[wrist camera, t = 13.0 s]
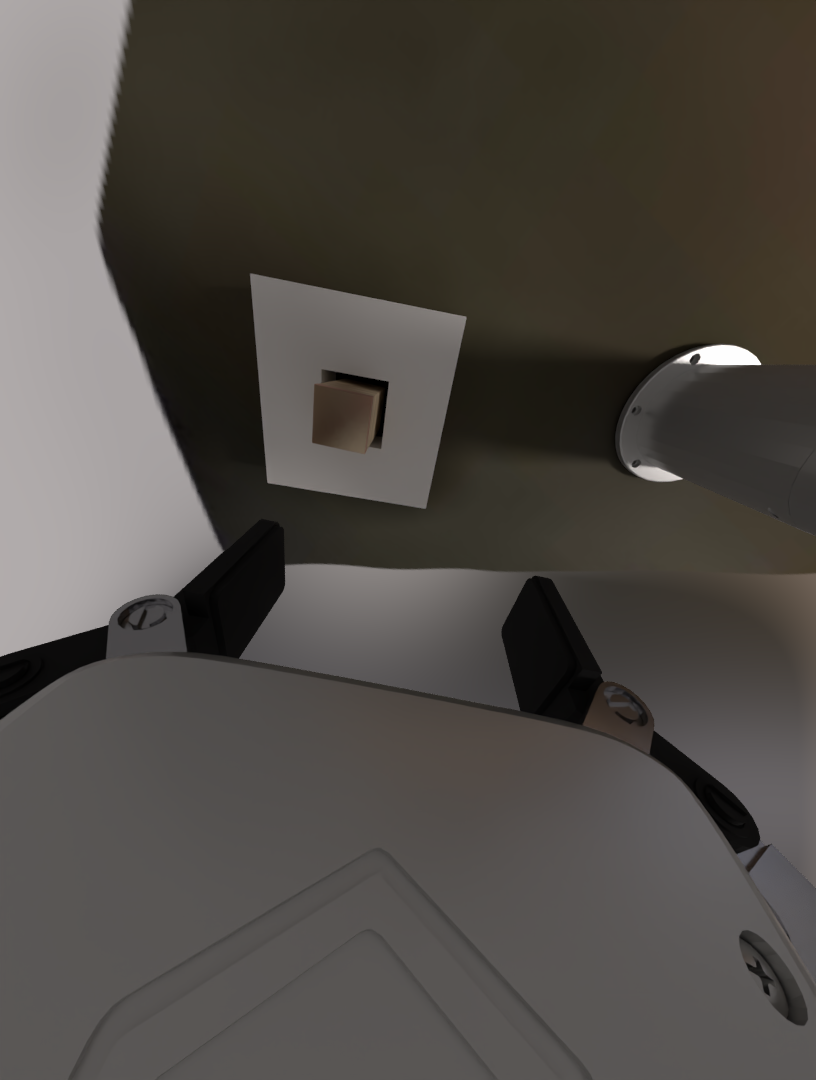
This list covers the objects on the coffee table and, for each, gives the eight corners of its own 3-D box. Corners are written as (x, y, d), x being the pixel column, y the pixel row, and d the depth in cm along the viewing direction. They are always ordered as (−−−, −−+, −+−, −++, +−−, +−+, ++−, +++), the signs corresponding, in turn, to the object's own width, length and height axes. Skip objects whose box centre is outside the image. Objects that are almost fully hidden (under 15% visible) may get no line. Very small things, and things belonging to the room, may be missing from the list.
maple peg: (386, 387, 29) (372, 397, 21) (379, 429, 31) (364, 454, 23) (345, 378, 29) (314, 384, 21) (341, 421, 31) (312, 442, 23)
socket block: (458, 324, 27) (466, 317, 22) (424, 490, 35) (425, 508, 30) (278, 288, 26) (250, 273, 21) (286, 467, 34) (267, 482, 30)
